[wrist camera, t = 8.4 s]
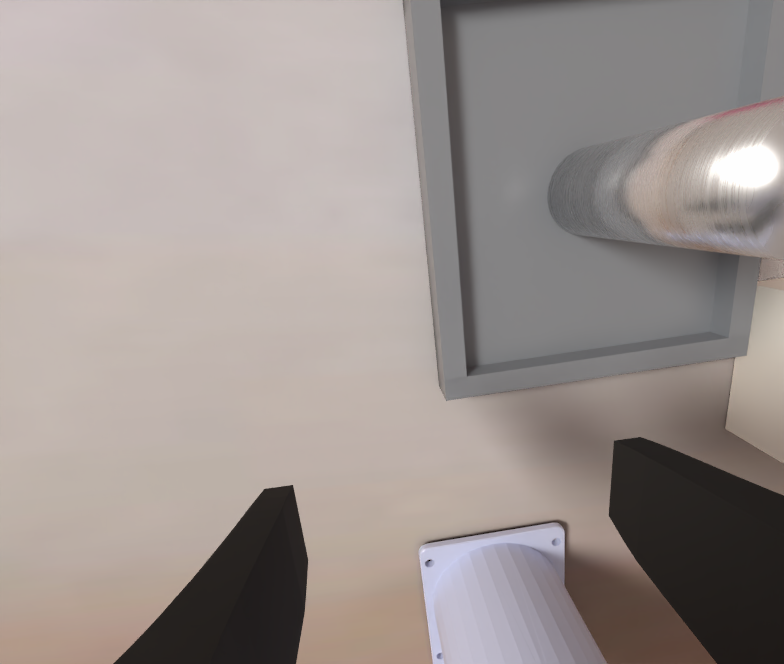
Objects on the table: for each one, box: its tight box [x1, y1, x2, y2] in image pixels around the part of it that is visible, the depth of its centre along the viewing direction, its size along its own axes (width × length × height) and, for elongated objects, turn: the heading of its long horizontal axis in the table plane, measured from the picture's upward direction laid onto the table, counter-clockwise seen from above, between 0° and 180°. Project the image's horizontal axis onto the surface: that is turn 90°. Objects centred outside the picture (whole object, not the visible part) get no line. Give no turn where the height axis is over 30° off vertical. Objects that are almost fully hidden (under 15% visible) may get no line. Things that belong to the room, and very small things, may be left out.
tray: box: [403, 0, 784, 401], centre depth 17 cm, size 16×14×2 cm
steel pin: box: [547, 96, 784, 260], centre depth 13 cm, size 4×4×9 cm
